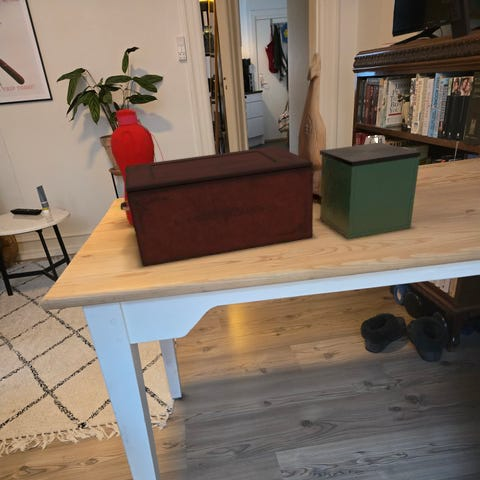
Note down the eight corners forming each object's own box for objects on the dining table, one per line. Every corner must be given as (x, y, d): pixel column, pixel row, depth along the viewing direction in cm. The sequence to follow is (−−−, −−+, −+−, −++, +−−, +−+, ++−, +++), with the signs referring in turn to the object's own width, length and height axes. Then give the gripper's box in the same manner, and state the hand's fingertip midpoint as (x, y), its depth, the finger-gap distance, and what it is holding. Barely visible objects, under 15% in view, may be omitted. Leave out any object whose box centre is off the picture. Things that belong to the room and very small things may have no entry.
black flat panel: (319, 154, 86) (319, 150, 85) (379, 146, 88) (379, 142, 87) (351, 166, 73) (352, 161, 73) (420, 156, 75) (420, 151, 75)
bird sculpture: (283, 201, 106) (278, 56, 90) (299, 190, 115) (297, 55, 98) (324, 204, 101) (327, 50, 85) (338, 191, 110) (343, 49, 93)
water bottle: (171, 224, 98) (150, 108, 85) (126, 228, 99) (98, 113, 86) (175, 212, 106) (157, 105, 93) (134, 216, 107) (109, 109, 94)
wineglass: (379, 186, 111) (383, 138, 105) (358, 185, 114) (361, 138, 107) (385, 181, 115) (389, 135, 109) (364, 180, 118) (367, 135, 112)
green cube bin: (320, 219, 92) (321, 155, 85) (376, 210, 94) (381, 147, 87) (348, 239, 80) (351, 166, 73) (410, 227, 83) (420, 156, 75)
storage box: (286, 207, 102) (284, 142, 95) (322, 235, 83) (324, 158, 75) (130, 231, 96) (114, 164, 89) (131, 268, 77) (111, 187, 69)
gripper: (437, -129, 69) (455, 24, 83) (401, -98, 64) (427, 58, 79) (486, -156, 63) (496, 12, 78) (451, -125, 59) (468, 47, 74)
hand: (461, 35), depth 78 cm, fingers closed
